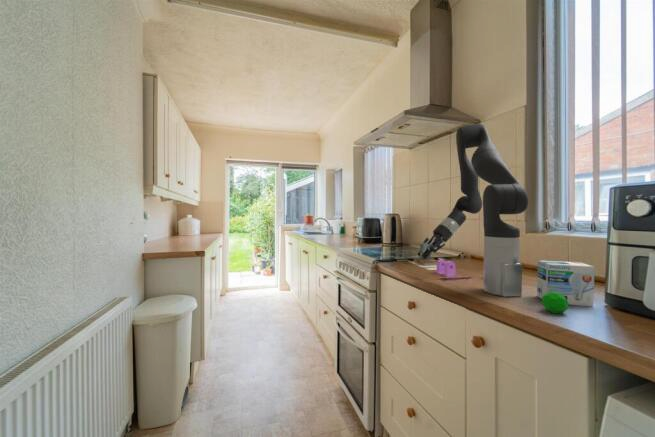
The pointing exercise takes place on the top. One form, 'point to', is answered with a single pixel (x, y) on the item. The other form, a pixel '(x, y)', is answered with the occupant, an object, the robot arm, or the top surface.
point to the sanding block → (425, 261)
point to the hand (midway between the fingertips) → (421, 256)
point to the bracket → (447, 269)
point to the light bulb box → (567, 281)
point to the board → (424, 266)
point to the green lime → (555, 302)
